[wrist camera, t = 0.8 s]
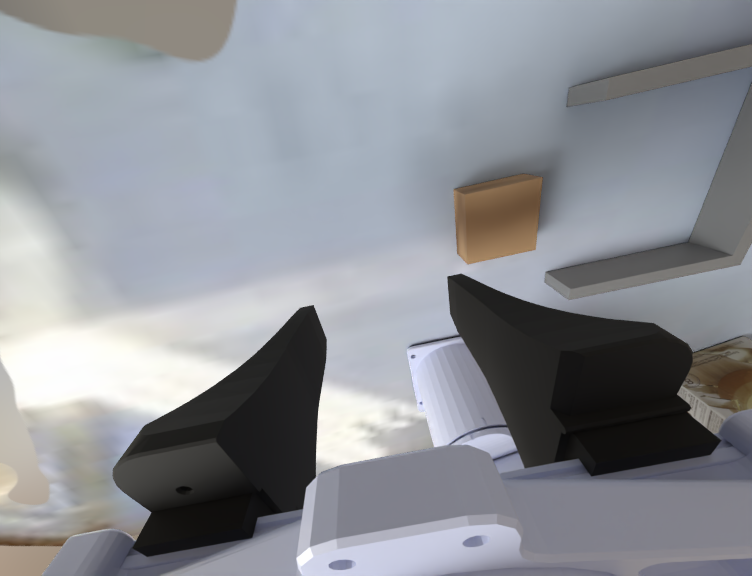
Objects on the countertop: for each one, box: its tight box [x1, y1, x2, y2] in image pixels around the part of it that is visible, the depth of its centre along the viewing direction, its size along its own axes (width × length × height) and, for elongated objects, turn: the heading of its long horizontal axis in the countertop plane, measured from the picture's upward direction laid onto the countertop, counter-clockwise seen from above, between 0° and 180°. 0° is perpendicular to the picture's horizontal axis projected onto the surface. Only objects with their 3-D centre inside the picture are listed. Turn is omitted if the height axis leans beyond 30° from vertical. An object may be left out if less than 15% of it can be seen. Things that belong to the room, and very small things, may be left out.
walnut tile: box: [454, 174, 543, 264], centre depth 19 cm, size 5×5×2 cm
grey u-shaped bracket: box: [545, 44, 752, 300], centre depth 18 cm, size 14×13×3 cm
